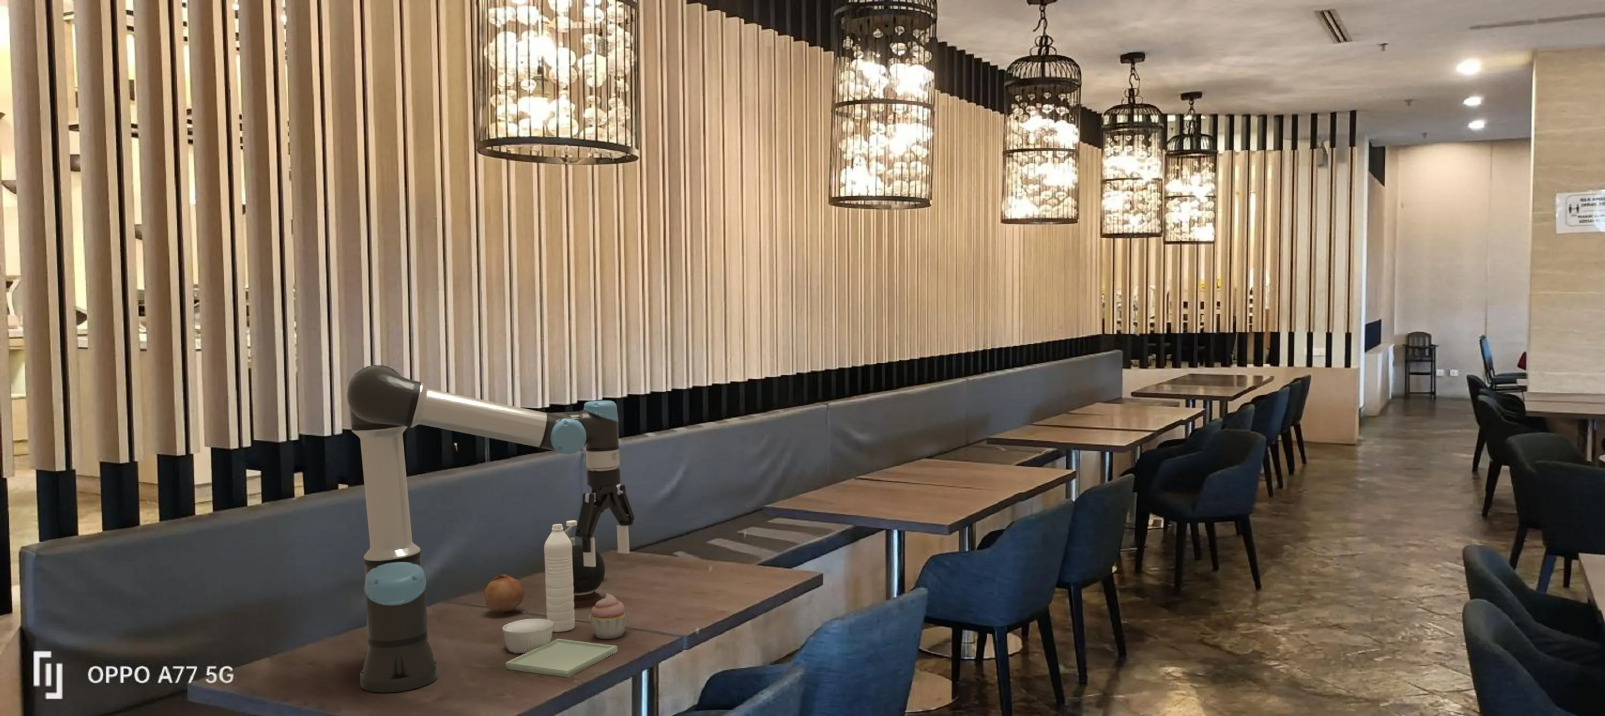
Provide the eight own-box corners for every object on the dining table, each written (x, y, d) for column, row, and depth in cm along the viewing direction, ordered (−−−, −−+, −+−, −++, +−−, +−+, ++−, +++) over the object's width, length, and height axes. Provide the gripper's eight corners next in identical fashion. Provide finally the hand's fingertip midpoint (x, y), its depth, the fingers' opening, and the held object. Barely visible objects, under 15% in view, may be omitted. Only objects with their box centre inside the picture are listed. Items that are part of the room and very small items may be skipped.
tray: (567, 677, 235) (567, 670, 235) (505, 668, 241) (505, 662, 241) (617, 652, 251) (617, 645, 251) (558, 644, 258) (557, 638, 258)
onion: (488, 620, 279) (486, 580, 279) (482, 611, 288) (481, 572, 287) (527, 615, 283) (526, 575, 283) (520, 606, 292) (519, 567, 291)
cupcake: (596, 629, 269) (594, 587, 269) (634, 630, 268) (633, 588, 267) (583, 641, 260) (581, 598, 259) (622, 642, 259) (621, 598, 258)
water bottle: (558, 634, 266) (555, 528, 265) (541, 629, 270) (537, 525, 269) (588, 625, 273) (584, 521, 272) (570, 620, 277) (566, 519, 276)
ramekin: (499, 644, 259) (498, 622, 259) (549, 638, 264) (548, 615, 263) (507, 658, 249) (506, 634, 249) (558, 651, 253) (557, 627, 253)
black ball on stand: (602, 594, 302) (600, 538, 301) (609, 606, 290) (607, 547, 289) (551, 599, 298) (549, 542, 297) (557, 611, 286) (554, 552, 285)
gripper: (584, 477, 249) (588, 573, 250) (646, 460, 272) (650, 548, 273) (556, 475, 252) (560, 570, 253) (620, 459, 275) (623, 546, 276)
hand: (607, 559), depth 263 cm, fingers open, 13 cm apart
